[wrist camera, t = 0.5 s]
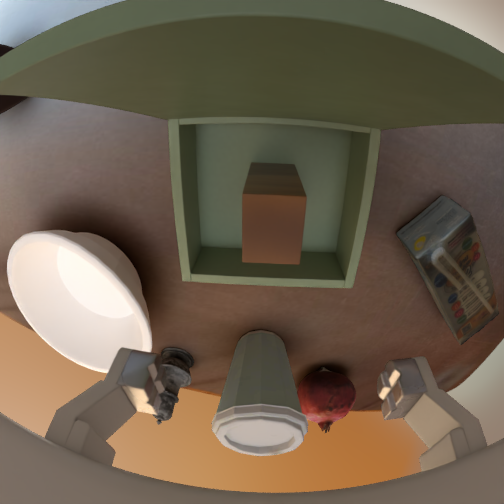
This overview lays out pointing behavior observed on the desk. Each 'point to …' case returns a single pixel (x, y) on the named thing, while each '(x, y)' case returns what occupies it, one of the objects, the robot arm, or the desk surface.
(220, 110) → the lid
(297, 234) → the brown wooden block
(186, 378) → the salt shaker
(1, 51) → the dark brown plant pot
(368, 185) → the green box base
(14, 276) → the bowl
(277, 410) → the disposable coffee cup
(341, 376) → the fruit
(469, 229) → the beverage carton
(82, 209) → the desk surface
